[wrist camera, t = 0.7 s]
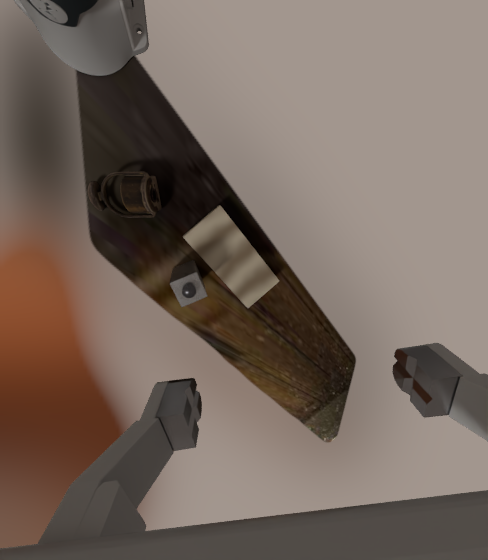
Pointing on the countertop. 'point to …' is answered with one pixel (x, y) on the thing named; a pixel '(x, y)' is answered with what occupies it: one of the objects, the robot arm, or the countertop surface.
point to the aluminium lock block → (187, 283)
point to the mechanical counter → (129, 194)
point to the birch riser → (231, 256)
